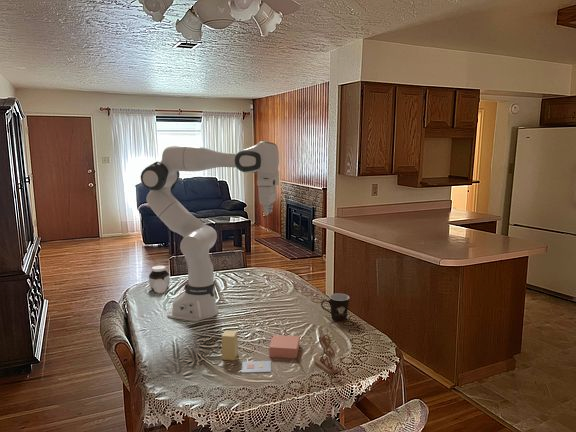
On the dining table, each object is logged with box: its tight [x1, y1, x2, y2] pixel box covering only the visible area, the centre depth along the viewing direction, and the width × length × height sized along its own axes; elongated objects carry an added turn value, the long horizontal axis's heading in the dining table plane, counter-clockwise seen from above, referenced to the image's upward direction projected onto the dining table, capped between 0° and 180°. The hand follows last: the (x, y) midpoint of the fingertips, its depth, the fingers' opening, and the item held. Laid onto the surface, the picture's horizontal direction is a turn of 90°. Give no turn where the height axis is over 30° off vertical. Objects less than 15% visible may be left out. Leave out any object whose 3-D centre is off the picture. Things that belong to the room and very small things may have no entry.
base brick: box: [268, 334, 301, 359], centre depth 161 cm, size 10×10×4 cm
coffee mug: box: [320, 293, 350, 323], centre depth 189 cm, size 12×9×10 cm
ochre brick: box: [221, 330, 239, 361], centre depth 156 cm, size 4×4×9 cm
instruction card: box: [240, 360, 272, 374], centre depth 149 cm, size 10×7×1 cm
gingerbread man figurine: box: [314, 334, 340, 376], centre depth 148 cm, size 9×4×12 cm, turn 33°
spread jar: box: [148, 265, 171, 294], centre depth 225 cm, size 12×11×12 cm
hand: (268, 213), depth 181 cm, fingers open, 8 cm apart
